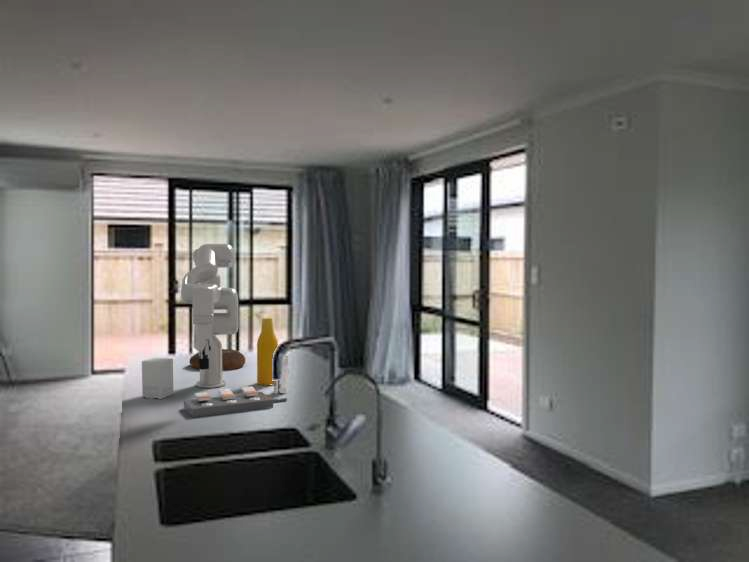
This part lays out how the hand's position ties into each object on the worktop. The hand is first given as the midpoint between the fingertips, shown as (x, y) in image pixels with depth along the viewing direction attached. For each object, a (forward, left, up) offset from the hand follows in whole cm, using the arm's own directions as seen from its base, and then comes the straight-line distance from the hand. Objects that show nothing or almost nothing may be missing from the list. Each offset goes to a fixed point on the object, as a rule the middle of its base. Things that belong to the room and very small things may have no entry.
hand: (204, 368), depth 232 cm
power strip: (+1, +13, -15) cm, 20 cm away
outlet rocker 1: (-2, +9, -11) cm, 14 cm away
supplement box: (-30, -11, -16) cm, 36 cm away
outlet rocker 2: (-2, +18, -11) cm, 21 cm away
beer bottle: (-32, +36, -16) cm, 51 cm away
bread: (-83, +27, -16) cm, 88 cm away
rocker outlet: (-2, 0, -11) cm, 11 cm away
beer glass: (-13, +35, -16) cm, 41 cm away
